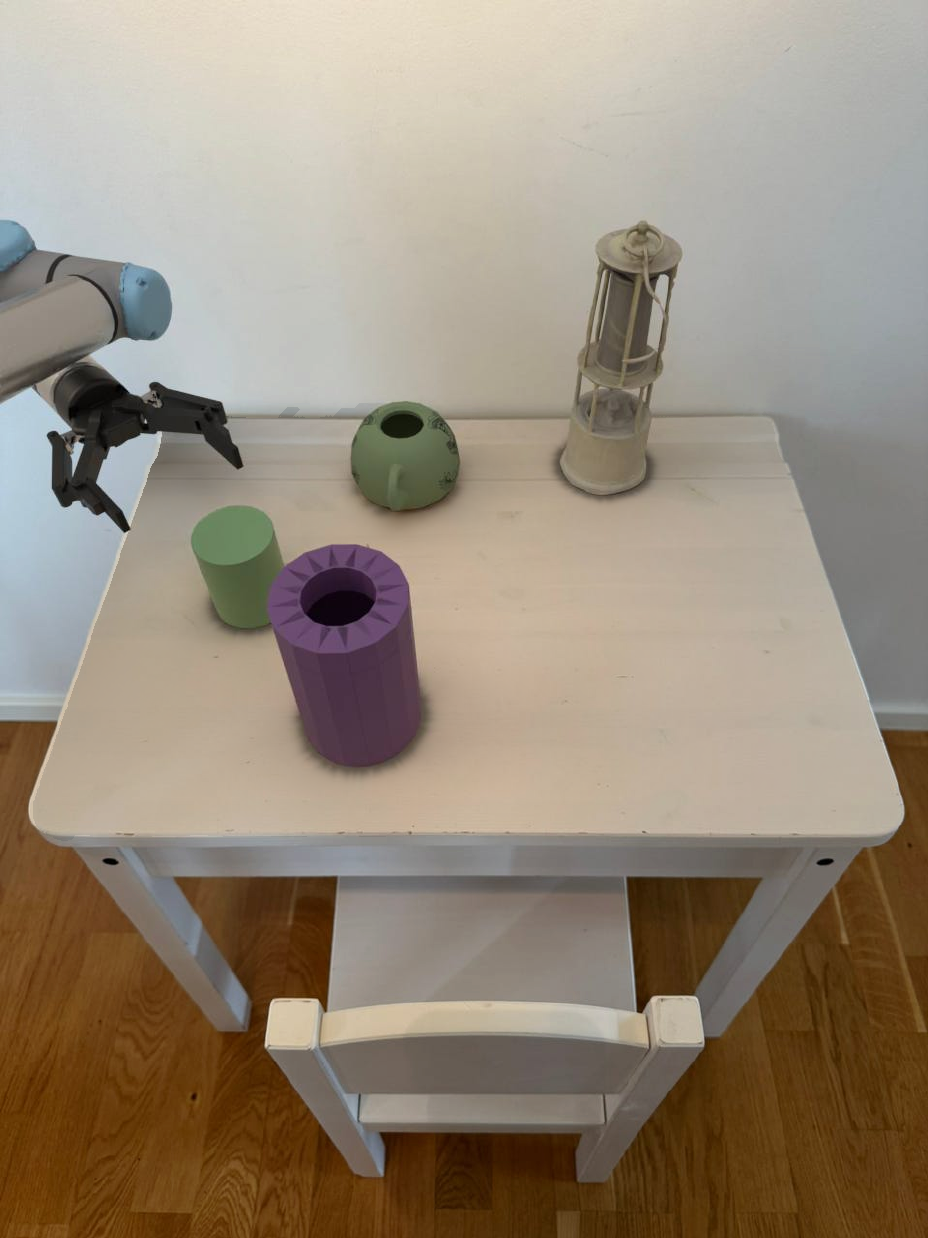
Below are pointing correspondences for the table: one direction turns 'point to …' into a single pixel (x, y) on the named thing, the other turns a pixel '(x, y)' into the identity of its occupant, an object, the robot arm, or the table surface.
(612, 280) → the lamp
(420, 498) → the green round pot
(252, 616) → the green cylinder
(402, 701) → the jar
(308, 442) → the table surface
